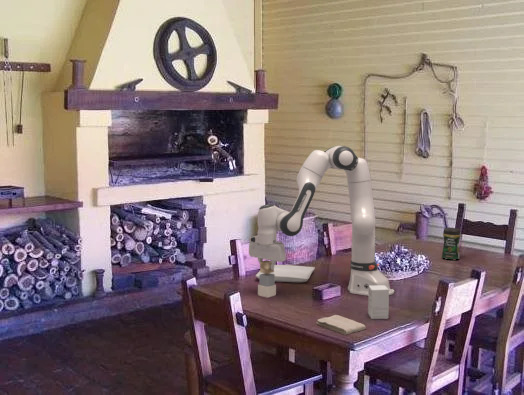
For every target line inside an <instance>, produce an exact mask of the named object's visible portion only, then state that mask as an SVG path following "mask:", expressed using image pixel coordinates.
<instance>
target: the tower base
mask: <svg viewBox="0 0 524 395" xmlns="http://www.w3.org/2000/svg"><path fill="white" fill-rule="evenodd" d="M276 294H277V285H276V284H275V285H272V286H269V287H266V286H262V285H260V284H257V296H259V297H263V298H271V297H274V296H276Z"/></svg>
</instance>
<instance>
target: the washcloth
mask: <svg viewBox="0 0 524 395" xmlns="http://www.w3.org/2000/svg"><path fill="white" fill-rule="evenodd" d="M315 324H317V325H318V326H319V327H322V328H324V329H328V330H330V331H333V332H334V333H335V332H336V333H338V334H342V335H350V334H354V333H357V332H358V333H359V332H361V331H365V330H366V329H367V328H366V325H365V324H364V323H361V322H358V321H356V320H354V319H350V318H347V317H345V316H342V315H340V314H339V315H338V314H334V315H331V316H329V317H327V316H326V317H321V318H319V319H316V322H315Z"/></svg>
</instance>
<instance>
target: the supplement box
mask: <svg viewBox="0 0 524 395" xmlns="http://www.w3.org/2000/svg"><path fill="white" fill-rule="evenodd" d="M389 298H390V295H389V289H388V288H387V287H386V286H385V285H376V286H369V287H368V298H367V300H368V302H367V303H368V304H367V314H368V316H369V317H370V319H371V320H385V319H387V320H389V310H390V309H389V307H390V306H389V305H390V303H389V302H390V299H389Z"/></svg>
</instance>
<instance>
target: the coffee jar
mask: <svg viewBox="0 0 524 395" xmlns="http://www.w3.org/2000/svg"><path fill="white" fill-rule="evenodd" d="M442 236H443V246H442V254H441V255H442V256H441V258H442V259H443V258H447V259H459V260H460V238H461V229H460V228H458V227H457V228H456V227H448V226H447V227H445V228H444V229H443V232H442Z"/></svg>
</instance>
